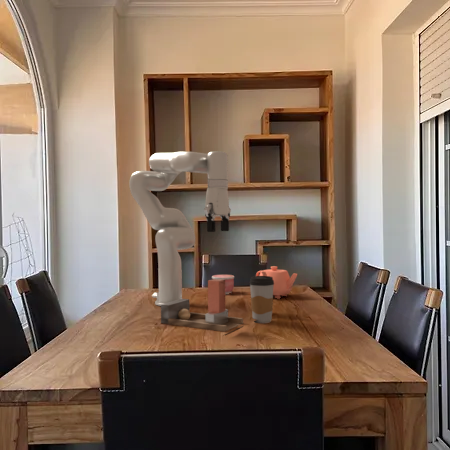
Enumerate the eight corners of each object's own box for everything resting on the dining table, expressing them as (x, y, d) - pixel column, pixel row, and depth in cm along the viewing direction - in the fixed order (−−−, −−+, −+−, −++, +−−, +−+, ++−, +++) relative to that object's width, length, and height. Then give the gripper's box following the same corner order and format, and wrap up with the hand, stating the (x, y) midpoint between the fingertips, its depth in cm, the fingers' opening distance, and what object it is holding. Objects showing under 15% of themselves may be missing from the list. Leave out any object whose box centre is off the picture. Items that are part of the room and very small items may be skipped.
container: (234, 294, 207) (234, 277, 206) (211, 295, 207) (211, 277, 207) (234, 291, 217) (234, 274, 217) (212, 291, 217) (212, 274, 217)
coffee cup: (276, 319, 156) (276, 276, 156) (271, 324, 148) (270, 279, 148) (253, 317, 159) (253, 275, 158) (246, 323, 151) (246, 278, 150)
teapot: (298, 298, 195) (298, 267, 195) (262, 301, 190) (261, 269, 190) (284, 292, 211) (283, 264, 210) (249, 295, 206) (249, 265, 206)
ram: (204, 326, 141) (203, 281, 140) (218, 320, 148) (218, 278, 148) (215, 327, 139) (214, 282, 138) (229, 321, 146) (229, 278, 146)
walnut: (177, 323, 149) (174, 311, 149) (184, 320, 152) (181, 309, 153) (187, 320, 147) (183, 308, 147) (193, 318, 150) (190, 306, 151)
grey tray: (161, 326, 147) (160, 304, 147) (182, 319, 158) (182, 298, 157) (224, 335, 135) (224, 311, 135) (243, 326, 146) (243, 304, 145)
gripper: (220, 186, 176) (221, 230, 176) (196, 184, 161) (196, 232, 161) (237, 186, 172) (238, 230, 173) (214, 183, 157) (214, 232, 158)
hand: (218, 231), depth 167 cm, fingers open, 9 cm apart
